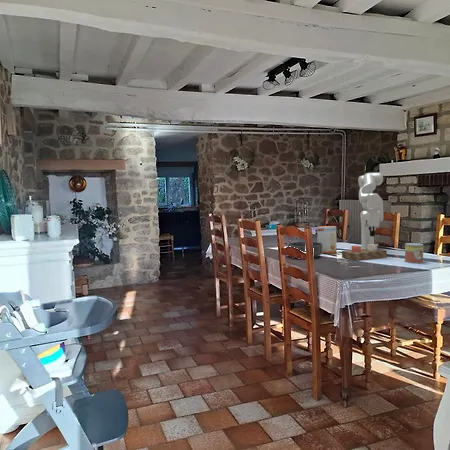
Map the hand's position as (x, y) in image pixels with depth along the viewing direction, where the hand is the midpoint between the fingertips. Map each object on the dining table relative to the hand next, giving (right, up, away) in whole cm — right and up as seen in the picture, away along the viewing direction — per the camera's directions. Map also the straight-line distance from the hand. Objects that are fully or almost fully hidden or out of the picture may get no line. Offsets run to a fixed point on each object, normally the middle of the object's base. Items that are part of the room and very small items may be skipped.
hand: (372, 236), depth 299 cm
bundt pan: (-47, -16, +11) cm, 51 cm away
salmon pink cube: (-13, -11, -3) cm, 17 cm away
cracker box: (-27, -14, +23) cm, 39 cm away
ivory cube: (0, -11, +2) cm, 11 cm away
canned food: (+21, -17, -20) cm, 34 cm away
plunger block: (-6, -16, -1) cm, 17 cm away
